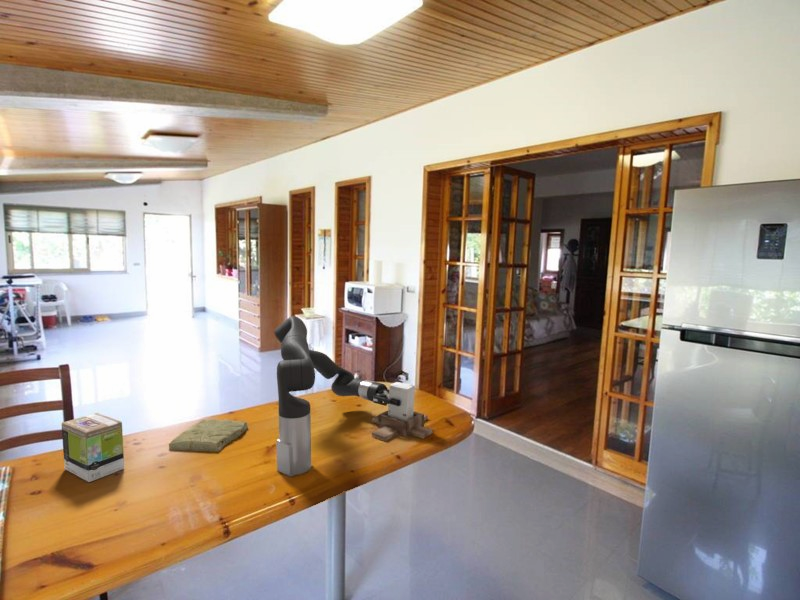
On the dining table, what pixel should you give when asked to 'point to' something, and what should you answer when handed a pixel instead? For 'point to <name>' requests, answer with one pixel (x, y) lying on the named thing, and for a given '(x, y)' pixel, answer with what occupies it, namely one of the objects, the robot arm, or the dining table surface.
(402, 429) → the cross stand
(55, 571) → the dining table surface
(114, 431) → the tea box
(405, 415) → the skincare box
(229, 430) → the decorative tile
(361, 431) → the dining table surface
